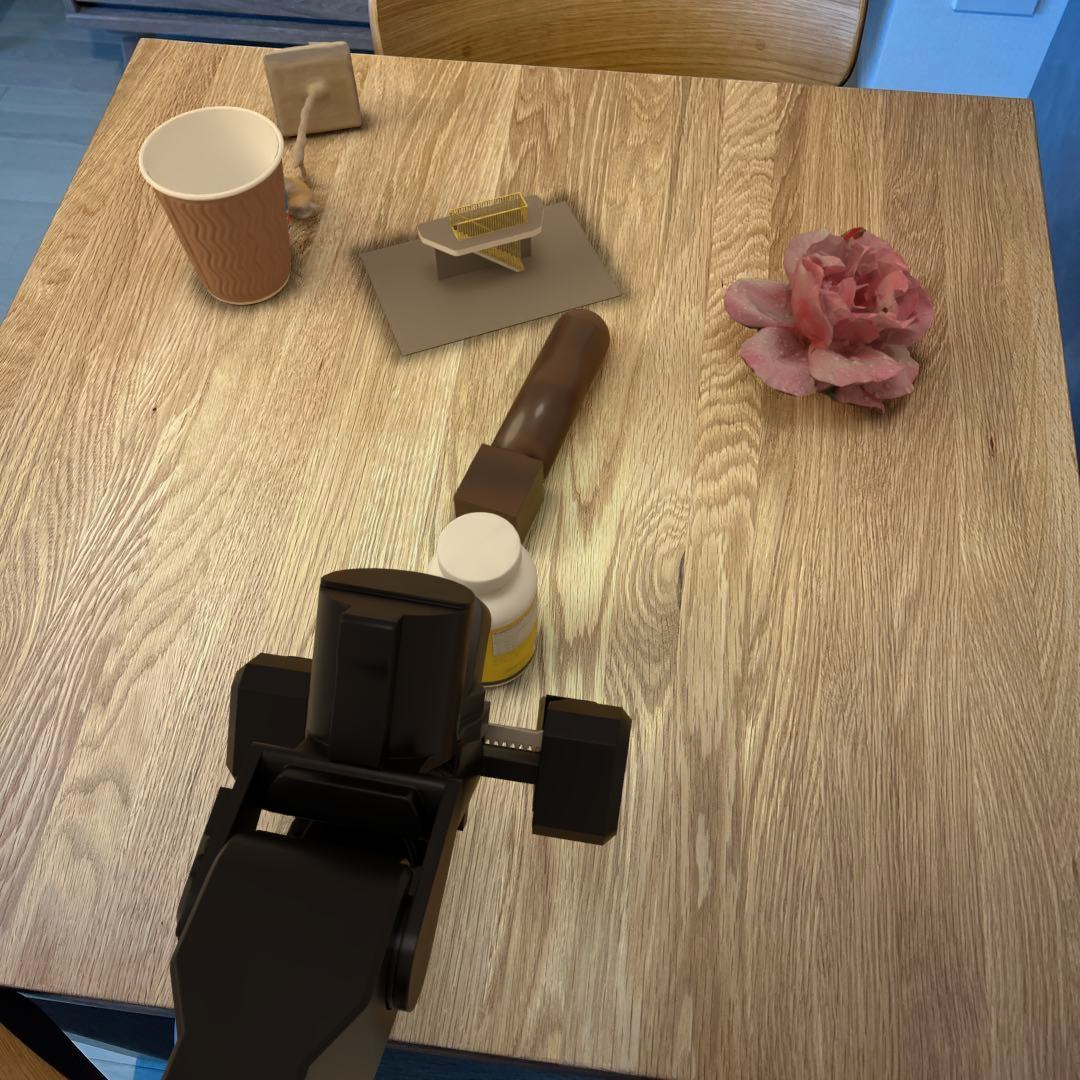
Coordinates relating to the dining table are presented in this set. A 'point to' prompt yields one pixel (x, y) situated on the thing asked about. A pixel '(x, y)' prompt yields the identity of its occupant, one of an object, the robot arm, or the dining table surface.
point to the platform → (486, 272)
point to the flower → (835, 320)
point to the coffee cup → (224, 198)
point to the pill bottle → (494, 587)
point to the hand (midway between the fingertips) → (461, 692)
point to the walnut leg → (536, 424)
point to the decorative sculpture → (311, 104)
